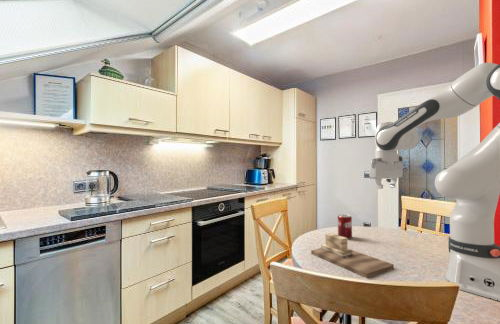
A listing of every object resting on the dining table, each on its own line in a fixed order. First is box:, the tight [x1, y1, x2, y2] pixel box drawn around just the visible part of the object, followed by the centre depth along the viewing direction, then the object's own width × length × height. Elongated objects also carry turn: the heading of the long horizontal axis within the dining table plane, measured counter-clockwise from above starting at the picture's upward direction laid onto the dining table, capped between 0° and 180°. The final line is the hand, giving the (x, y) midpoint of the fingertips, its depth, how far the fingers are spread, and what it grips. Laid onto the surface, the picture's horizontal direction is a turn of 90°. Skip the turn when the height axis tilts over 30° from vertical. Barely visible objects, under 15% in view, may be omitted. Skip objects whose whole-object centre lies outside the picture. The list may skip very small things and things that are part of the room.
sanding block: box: [320, 232, 353, 258], centre depth 109 cm, size 12×6×7 cm, turn 29°
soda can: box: [337, 214, 353, 240], centre depth 135 cm, size 7×7×12 cm
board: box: [310, 247, 395, 279], centre depth 103 cm, size 28×16×2 cm, turn 29°
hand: (386, 188), depth 113 cm, fingers open, 8 cm apart
